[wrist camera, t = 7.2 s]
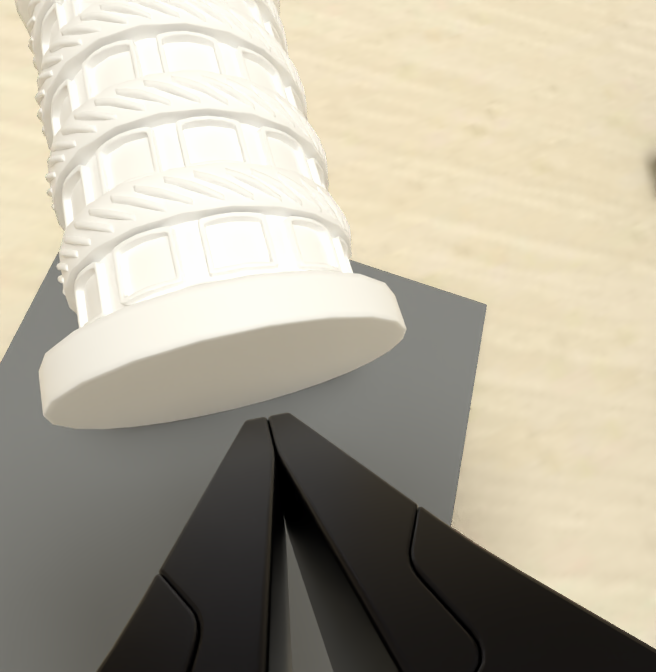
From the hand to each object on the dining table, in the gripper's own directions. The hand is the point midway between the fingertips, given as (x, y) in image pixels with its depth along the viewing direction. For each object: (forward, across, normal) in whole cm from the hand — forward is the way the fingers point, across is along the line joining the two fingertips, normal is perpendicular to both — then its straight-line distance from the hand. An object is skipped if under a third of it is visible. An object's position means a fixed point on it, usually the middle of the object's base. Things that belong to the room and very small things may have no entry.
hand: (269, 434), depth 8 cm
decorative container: (+6, 0, -3) cm, 7 cm away
